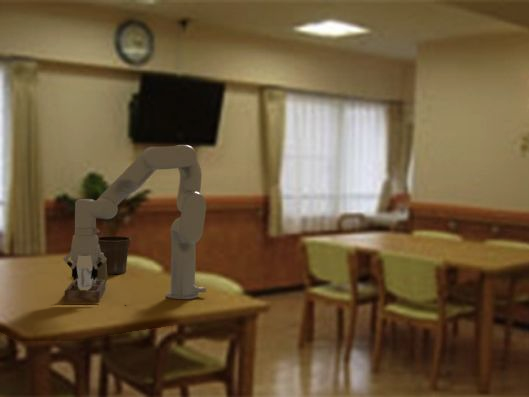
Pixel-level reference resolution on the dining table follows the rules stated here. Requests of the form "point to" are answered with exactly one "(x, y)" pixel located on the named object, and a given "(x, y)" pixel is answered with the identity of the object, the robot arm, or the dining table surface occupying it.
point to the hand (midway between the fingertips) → (84, 278)
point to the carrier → (84, 293)
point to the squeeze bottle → (102, 269)
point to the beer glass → (84, 273)
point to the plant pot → (115, 253)
